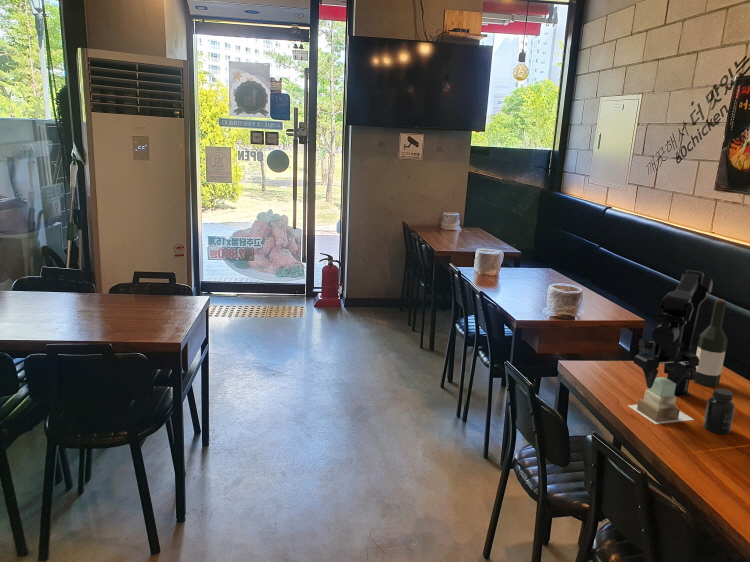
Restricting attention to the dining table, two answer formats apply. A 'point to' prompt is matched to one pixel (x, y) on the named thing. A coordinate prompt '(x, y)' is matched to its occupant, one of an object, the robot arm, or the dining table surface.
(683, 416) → the grey mat
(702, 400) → the dining table surface
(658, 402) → the birch block
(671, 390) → the sage block
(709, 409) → the supplement bottle
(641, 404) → the walnut slab
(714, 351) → the wine bottle
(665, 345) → the robot arm
